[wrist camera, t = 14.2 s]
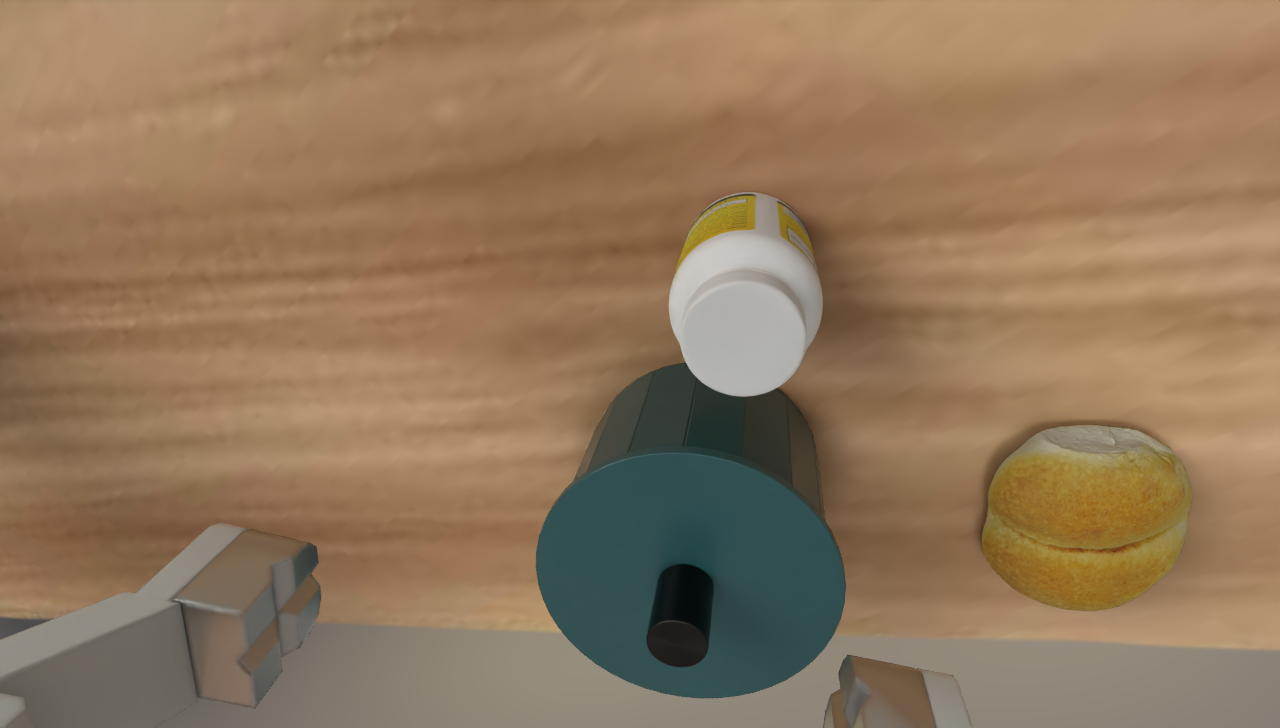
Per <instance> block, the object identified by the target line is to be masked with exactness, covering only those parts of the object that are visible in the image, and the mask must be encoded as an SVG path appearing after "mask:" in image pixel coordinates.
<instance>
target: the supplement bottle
mask: <svg viewBox="0 0 1280 728" xmlns="http://www.w3.org/2000/svg"><path fill="white" fill-rule="evenodd" d="M822 310H823V298H822V289H821V284H820V280H819V275H818V272H817V267H816V263H815V259H814V255H813V250H812V246H811V242H810V238H809V235H808V232H807V230H806V228H805V226H804V224H803V222H802V220H801V219H800V217H799V216H798V215H797V214H796V213H795V211H794V210H793V209H792V208H790V207H789V206H788V205H787V204H785V203H784V202H782V201H781V200H779V199H777V198H775V197H772V196H769V195H766V194H762V193H756V192H742V193H736V194H731V195H728V196H725V197H723V198H721V199H719V200H717V201H715V202H714V203H712V204H711V205H709V206H708V207H707V208H706V209H705V210H704V211H703V212H702V213H701V214H700V215H699V216H698V217H697V218H696V220H695V221H694V223H693V225H692V227H691V228H690V230H689V233H688V235H687V238H686V241H685V244H684V247H683V249H682V252H681V255H680V259H679V262H678V265H677V268H676V271H675V275H674V278H673V281H672V285H671V290H670V296H669V317H670V322H671V326H672V329H673V332H674V334H675V336H676V338H677V340H678V342H679V343H680V346H681V351H682V354H683V357H684V360H685V362H686V364H687V366H688V367H689V369H690V370H691V372H692V373H693V374H694V375H695V376H696V377H697V378H698V379H699V380H700V381H701V382H702V383H704V384H705V385H706V386H708V387H710V388H712V389H713V390H716V391H718V392H721V393H724V394H727V395H732V396H740V397H747V396H756V395H760V394H764V393H767V392H770V391H772V390H774V389H776V388H778V387H779V386H781V385H782V384H784V383H785V382H786V381H787V380H788V379H789V378H791V377H792V375H793V374H794V373H795V372H796V370H797V369H798V367H799V366H800V364H801V362H802V360H803V357H804V354H805V351H806V350H807V349H808V347H809V346H810V345H811V343H812V341H813V340H814V338H815V336H816V334H817V331H818V329H819V325H820V321H821V317H822Z"/></svg>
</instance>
